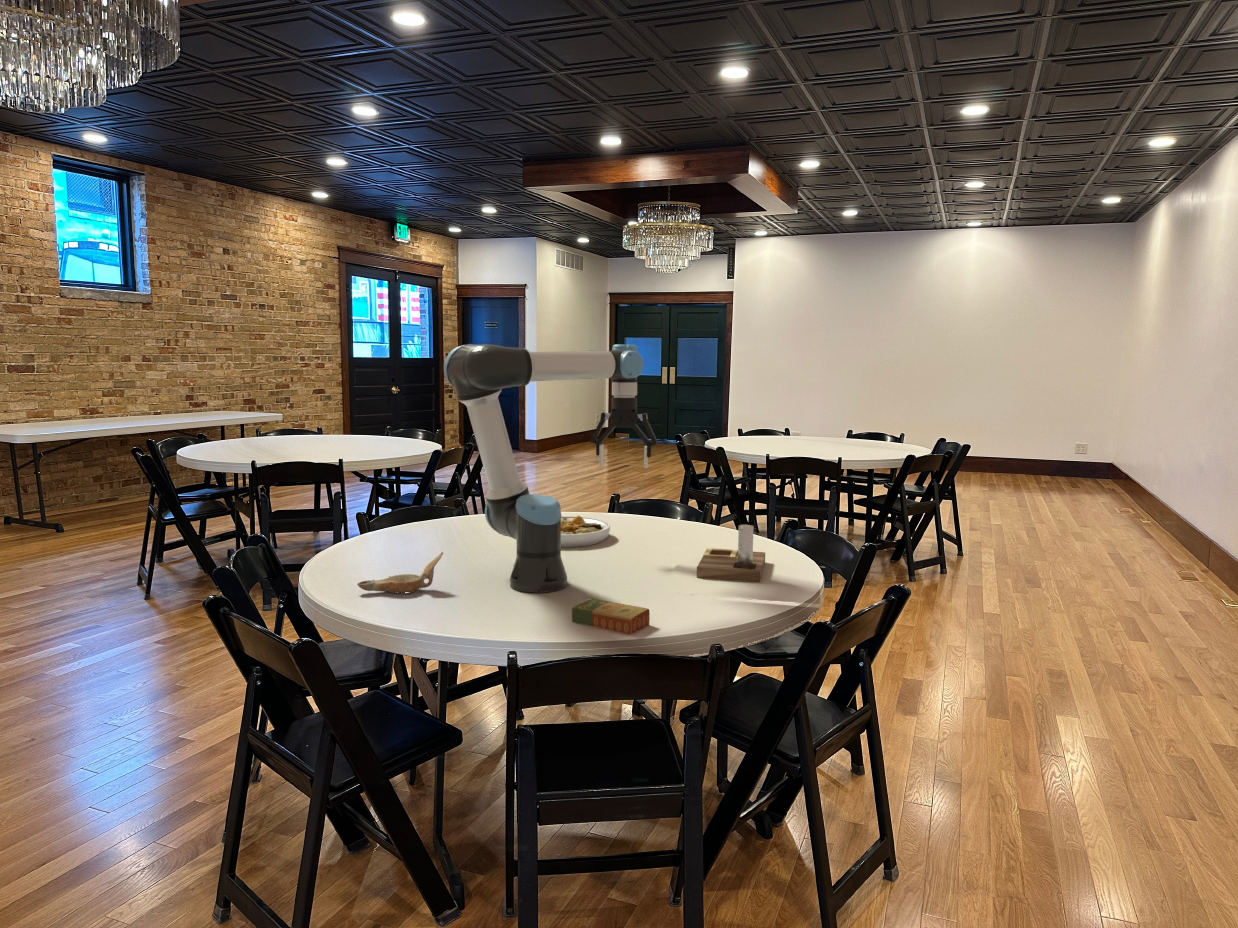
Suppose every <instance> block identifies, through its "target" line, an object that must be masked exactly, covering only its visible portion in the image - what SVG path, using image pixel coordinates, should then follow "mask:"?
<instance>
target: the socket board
mask: <svg viewBox="0 0 1238 928" xmlns="http://www.w3.org/2000/svg"><path fill="white" fill-rule="evenodd" d="M765 563H766V552H763V551H753V560H752V569H746V568H737V566H738V549H727V548H726V549H725V548H714V547H713V548H711V547H710V548H709V547H707V548H706V550H705V551H704V553H703V555H702V557H701V559H700V561H699V563H697V564H698V565H697V566H696V579H706V580H721V581H722V580H723V581H734V582H736V581H737V582H749V583H761V580H762V575H763V572H764V568H765Z"/></svg>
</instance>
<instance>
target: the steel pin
mask: <svg viewBox="0 0 1238 928" xmlns="http://www.w3.org/2000/svg"><path fill="white" fill-rule="evenodd" d="M737 533H738V537H737V539H738V540H737V550H738V566H737V568H746V569H752V560H753V552H754V549H753V548H754V525H752V524H751V525H750V524H740V525H738V532H737Z"/></svg>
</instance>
